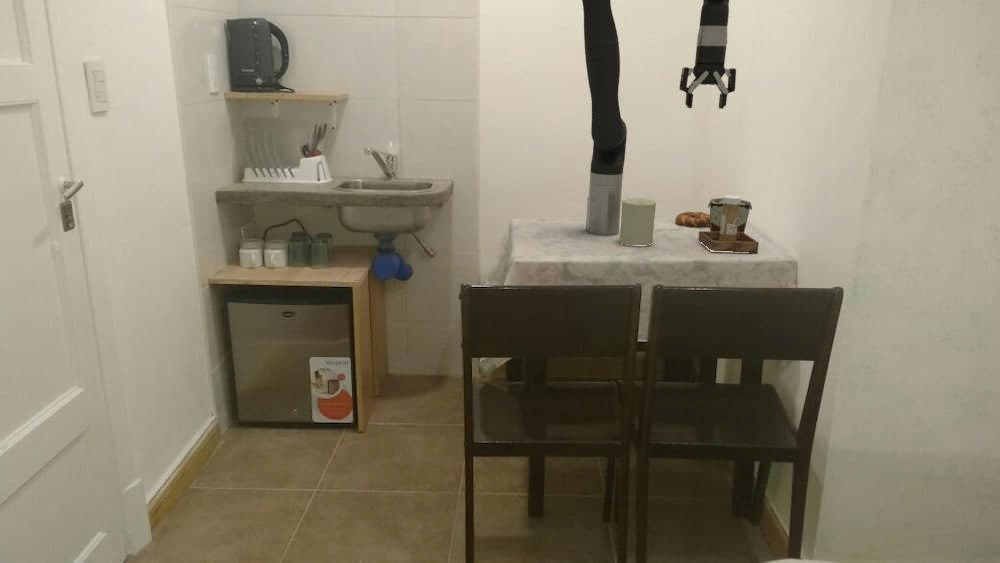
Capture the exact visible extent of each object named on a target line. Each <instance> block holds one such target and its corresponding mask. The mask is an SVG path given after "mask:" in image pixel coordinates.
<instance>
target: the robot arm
mask: <svg viewBox="0 0 1000 563" xmlns="http://www.w3.org/2000/svg"><path fill="white" fill-rule="evenodd" d="M581 1H582V8H583V37H584V38H583V39H584V55H585V66H586V73H587V81H588V88H589V92H590V97H591V98H590V100H591V127H590V132H591V133H590V134H591V140H592V142H593V146H592V148H593V149H592V156H591V162H590V174H589V190H588V196H587V198H586V199H587V200H586V201H587V202H586V220H585V230H586V231H587V233H588V234H594V235H605V236H606V235H608V236H609V235H616V234H619V233H620V223H621V209H622V191H623V178H624V177H623V176H624V165H625V160H626V158H625V157H626V149H627V148H626V147H627V135H628V130H627V125H626V123H625V121H624V120H623V119H622V116H621V110H620V103H619V102H620V101H619V87H620V86H619V85H620V77H621V76H620V74H621V54H620V52H621V51H620V42H619V36H618V30H617V26H616V23H615V19H614V15H613V11H612V3H611V0H581ZM702 1H703V3H702V6H701V9H700V17H699V27H698V33H697V39H696V49H695V59H694V66H693V68H690V67H688V66H687V67H686V66H685V67H682V68H681V75H680V82H679V91H682V92H684V93H685V106H686V108H688V109H692V108H693V100H694V93H693V92H694V91H695V90H697V88H698V87H699V86H700V85H702V86H704V85H705V86H706V85H709V86H710V85H711V86H716V87H717V88H718V89H717V90H719V92H720V94H719V100H718V101H719V102H718V109H719V110H723V109H724V107H726V106H727V100H728V99H727V98H728V95H729V94H730V93H733V92H735V91H736V80H737V69H736V68H733V67H731V68H725V61H726V52H727V45H728V24H729V17H730V16H729V14H730V6H729V2H730V0H702ZM691 74H693V76H694V79H693V80H692V81H691V82H690V84H689V86H688V78H689V77H690V76H691ZM724 75H725V76H726V77H727V87H726V85H725V82H724V81H723V79H722V78H723V77H724Z"/></svg>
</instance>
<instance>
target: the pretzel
mask: <svg viewBox="0 0 1000 563" xmlns="http://www.w3.org/2000/svg"><path fill="white" fill-rule="evenodd" d="M674 220H675V221H674V222H675V224H676V225H677V226H681V227H688V228H693V227H694V228H698V227H706V228H710V214H707V212H703V211H701V212H700V211H696V212H695V211H683V212H681V213H679V214H678V215H677V216H675V219H674Z"/></svg>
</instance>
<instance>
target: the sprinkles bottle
mask: <svg viewBox="0 0 1000 563" xmlns="http://www.w3.org/2000/svg"><path fill="white" fill-rule="evenodd" d="M722 198H723V210H722V216H721V225H720V237H719V241H727V242H735V240H736V234H737V226H738V215H739V206H740V203H741V200H742V197H741V196H739V195H733V194H732V195H731V194H729V195H728V194H727V195H724V196H723V197H722Z"/></svg>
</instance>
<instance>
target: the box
mask: <svg viewBox="0 0 1000 563" xmlns="http://www.w3.org/2000/svg"><path fill="white" fill-rule="evenodd" d="M719 237H720V232H712V231H710V230H709V231H705V230H701V231H700V230H699V232H698V240H699V241H700V242H702V243H703V244H704V245H705V246H707V247H708V248H709V249H711V250H714V251H733V252H749V253H748V254H753V253H757V254H758V252H759V245H760V243H759V241H757V240H756V239H754V238H753V237H751V236H749V235H748V234H746V233H745V232H744V233H743V232H737V234H736V240H735V242H727V241H719Z"/></svg>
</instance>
